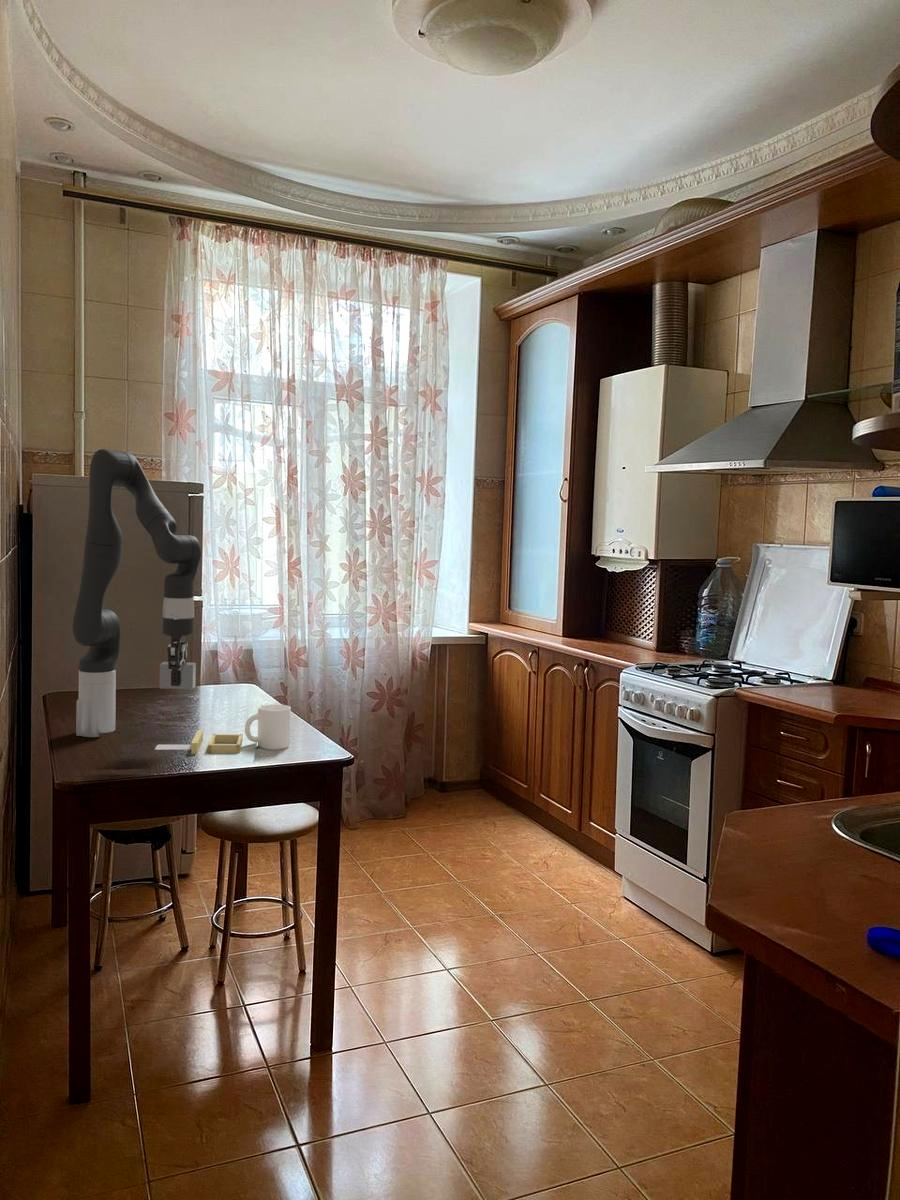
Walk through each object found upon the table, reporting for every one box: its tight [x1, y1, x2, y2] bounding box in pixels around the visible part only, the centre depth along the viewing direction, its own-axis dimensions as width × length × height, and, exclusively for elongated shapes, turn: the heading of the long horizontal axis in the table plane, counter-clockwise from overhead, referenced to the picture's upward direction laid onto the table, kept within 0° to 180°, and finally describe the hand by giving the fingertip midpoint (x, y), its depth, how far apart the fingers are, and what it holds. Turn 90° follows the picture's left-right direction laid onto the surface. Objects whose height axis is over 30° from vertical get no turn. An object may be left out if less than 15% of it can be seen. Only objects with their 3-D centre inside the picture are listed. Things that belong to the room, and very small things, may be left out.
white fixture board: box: [154, 729, 244, 755], centre depth 235 cm, size 22×14×4 cm, turn 99°
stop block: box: [159, 661, 197, 690], centre depth 232 cm, size 8×4×6 cm, turn 95°
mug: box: [244, 703, 292, 751], centre depth 241 cm, size 12×8×10 cm
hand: (177, 683), depth 232 cm, fingers closed on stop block, 4 cm apart
